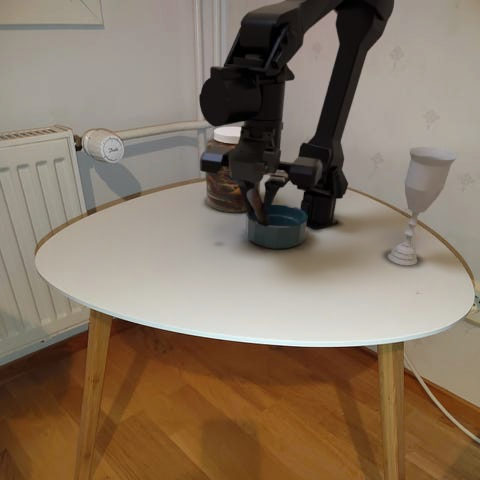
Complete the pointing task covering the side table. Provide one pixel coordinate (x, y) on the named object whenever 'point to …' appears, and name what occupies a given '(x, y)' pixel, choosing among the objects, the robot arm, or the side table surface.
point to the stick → (257, 206)
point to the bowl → (278, 227)
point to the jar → (225, 176)
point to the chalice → (421, 192)
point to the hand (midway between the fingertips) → (257, 217)
